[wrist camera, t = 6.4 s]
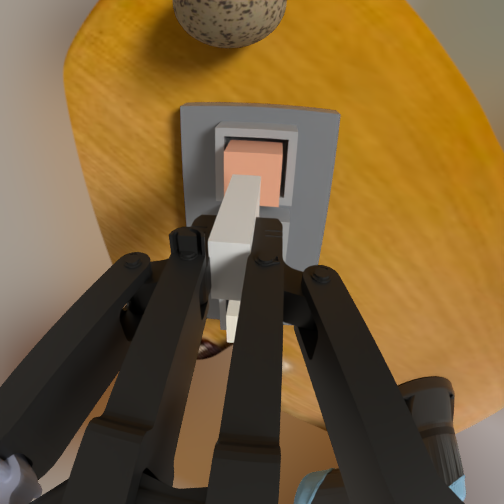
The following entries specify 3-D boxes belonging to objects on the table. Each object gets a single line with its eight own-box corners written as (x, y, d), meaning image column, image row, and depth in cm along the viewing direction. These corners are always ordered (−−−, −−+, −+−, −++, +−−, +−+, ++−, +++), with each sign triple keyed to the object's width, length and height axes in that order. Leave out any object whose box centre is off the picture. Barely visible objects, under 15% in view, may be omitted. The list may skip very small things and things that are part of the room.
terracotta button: (278, 189, 23) (278, 207, 21) (230, 186, 23) (223, 203, 21) (282, 142, 21) (282, 154, 19) (230, 139, 21) (223, 151, 19)
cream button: (267, 322, 31) (265, 345, 29) (231, 319, 31) (226, 342, 29) (269, 295, 29) (268, 319, 27) (230, 292, 29) (226, 315, 27)
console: (304, 313, 35) (306, 343, 32) (199, 304, 36) (190, 333, 32) (335, 110, 23) (346, 120, 19) (187, 102, 24) (169, 111, 20)
